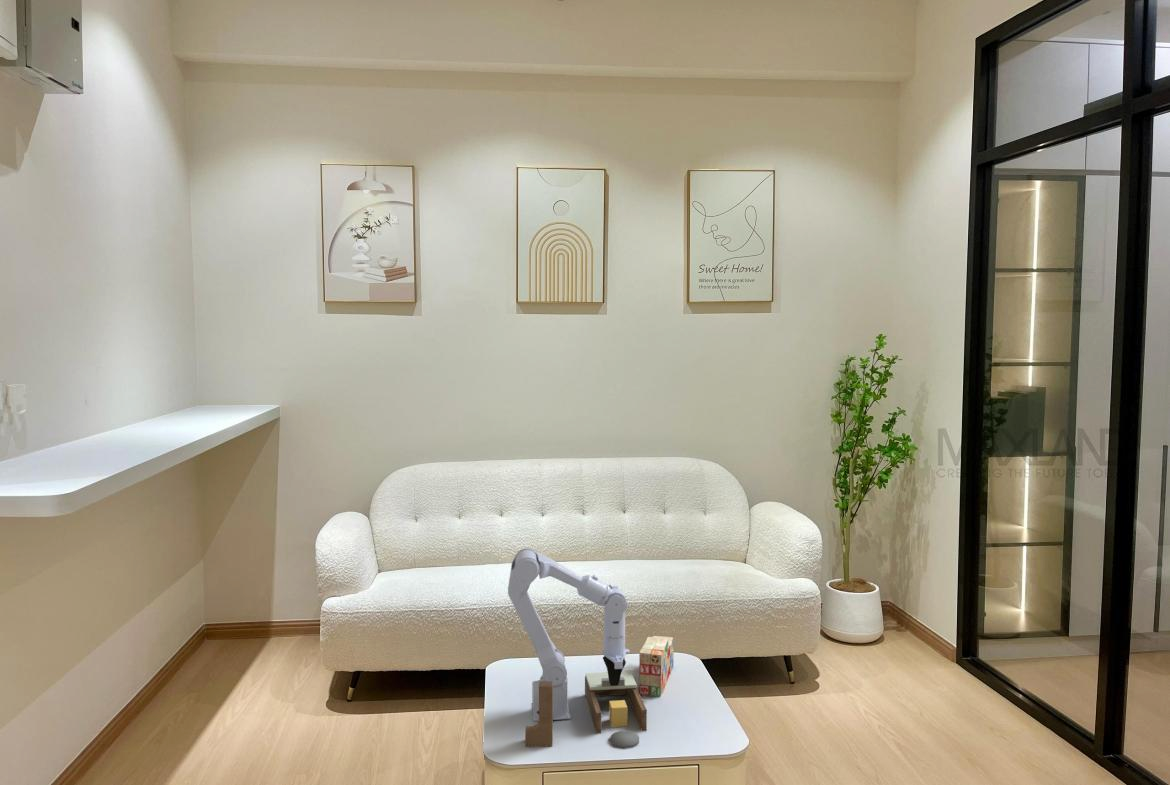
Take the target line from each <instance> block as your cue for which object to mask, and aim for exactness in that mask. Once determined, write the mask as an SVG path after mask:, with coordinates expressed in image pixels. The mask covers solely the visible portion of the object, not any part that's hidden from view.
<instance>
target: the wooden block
mask: <svg viewBox="0 0 1170 785" xmlns="http://www.w3.org/2000/svg"><path fill="white" fill-rule="evenodd" d="M553 721H554V720H553V682H552V681H540V682H539V721H537V723H535V724H533V725H526V726H525V732H524V733H525V741H524V742H525V744H524V745H525V747H553V743H554V742H553V739H554V738H553V735H554V732H553V730H554V729H553V727H554V725H553V724H554V723H553Z"/></svg>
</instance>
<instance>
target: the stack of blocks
mask: <svg viewBox="0 0 1170 785" xmlns="http://www.w3.org/2000/svg"><path fill="white" fill-rule="evenodd" d="M638 654H639V659H638V660H639V668H638V670H639V671H638V673H639V674H638V675H639V678H638V680H639V682H638V692H639V694H641V695H642V696H648V697H649V696H650V697H656V696H657V698H658V697H659V698H661V697H662V695H663V693H664V691H665V688H666V687H665V686H667V684H668V683H667V682H668V681H669V678H670V676H669V675H672V671H673V669H674V654H675V653H674V637H671V636H663V635H662V636H661V635H660V636H659V635H652V636H647V638H646V640H645V641H644V644H643V646H642V647H641V649H640V651H639V653H638ZM641 695H640V696H641Z"/></svg>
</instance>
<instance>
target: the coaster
mask: <svg viewBox="0 0 1170 785" xmlns="http://www.w3.org/2000/svg"><path fill="white" fill-rule="evenodd" d="M610 743H611V745H613V746H614V747H617V748H621V749H631V748H634V747H637V746H638V745H639V744H640V737H639V734H637V733H636V732H634V731H629V730H618V731H615V732H613V733H612V734H611V735H610Z"/></svg>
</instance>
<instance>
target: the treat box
mask: <svg viewBox="0 0 1170 785" xmlns="http://www.w3.org/2000/svg"><path fill="white" fill-rule="evenodd" d="M621 695H623V696H624V695H626V696H627V698H628V700H629V703H630V705H631V707H632V708H631V709H632V711H633V712H634V715H635V718H636V720H637V722H638V725H639V727H640V729H641V731H642V732H644V730H645V731H647V725H648V724H647V723H648V722H647V721H648V720H647V719H648V718H647V717H648V715H647V714H648V712H647V711H648V710H647V707H646V705H645V703H644V701H643V699H642V696H641V695H640V694H639V689H638V687H637V688H625V689H607V690H590V688H589V685H588V682H587V679H586V675H585V676H584V698H585V700H586V702H587V707H588V711H589V714H590V717H591V720H592V724H593V727H594V731H595V733H596V734H602V711H601V708H600V704H599V702H598V699H597V698H598V697H605V696H621Z"/></svg>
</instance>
